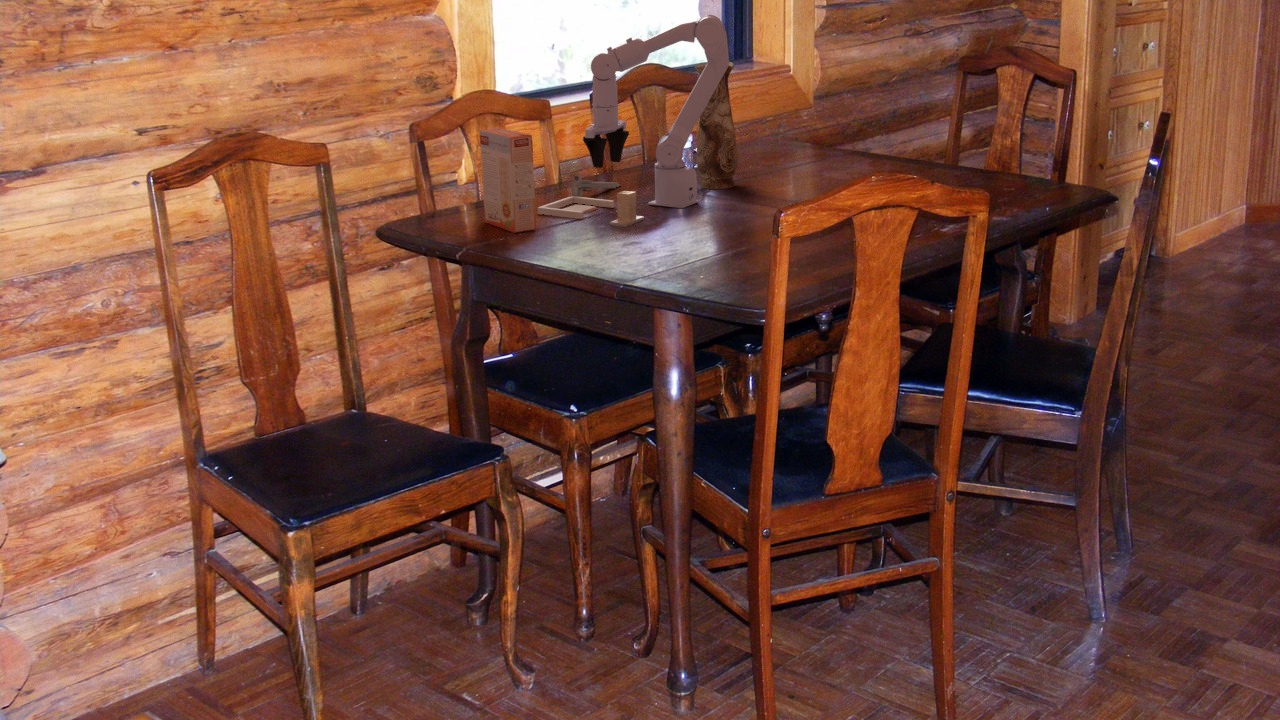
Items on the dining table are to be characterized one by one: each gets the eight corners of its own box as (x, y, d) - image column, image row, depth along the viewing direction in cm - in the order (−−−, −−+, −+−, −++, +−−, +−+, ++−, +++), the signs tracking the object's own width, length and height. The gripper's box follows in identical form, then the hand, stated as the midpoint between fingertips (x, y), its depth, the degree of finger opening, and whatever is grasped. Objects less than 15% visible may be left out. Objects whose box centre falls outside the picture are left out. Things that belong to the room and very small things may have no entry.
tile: (597, 211, 295) (596, 206, 295) (582, 216, 290) (581, 211, 290) (576, 209, 298) (576, 204, 298) (561, 214, 293) (560, 209, 293)
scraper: (644, 220, 284) (643, 190, 282) (625, 227, 277) (624, 196, 275) (629, 218, 286) (628, 188, 284) (609, 225, 279) (608, 195, 277)
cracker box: (538, 230, 276) (533, 134, 269) (513, 234, 273) (508, 137, 266) (507, 219, 287) (502, 126, 280) (483, 222, 284) (478, 129, 277)
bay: (614, 207, 297) (614, 200, 296) (581, 219, 285) (580, 212, 285) (572, 202, 303) (571, 196, 302) (537, 213, 291) (537, 207, 291)
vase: (739, 189, 312) (739, 65, 303) (695, 190, 313) (694, 66, 303) (736, 181, 322) (737, 61, 312) (694, 182, 323) (694, 62, 313)
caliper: (576, 202, 304) (575, 176, 301) (572, 202, 304) (571, 176, 302) (621, 187, 320) (620, 162, 318) (617, 187, 320) (617, 162, 318)
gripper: (607, 101, 300) (609, 158, 305) (573, 109, 288) (575, 168, 293) (633, 102, 297) (634, 160, 301) (599, 110, 285) (601, 170, 289)
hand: (607, 164), depth 297 cm, fingers open, 7 cm apart
